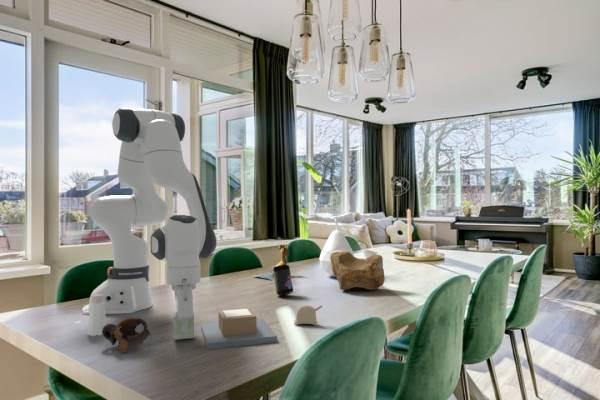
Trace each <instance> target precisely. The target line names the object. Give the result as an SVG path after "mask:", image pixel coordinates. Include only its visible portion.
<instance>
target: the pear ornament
mask: <svg viewBox="0 0 600 400" xmlns="http://www.w3.org/2000/svg"><path fill="white" fill-rule="evenodd" d="M334 223H335V230H333V231H331V233H330V234H329V236H328V238H327V240H326V241H325V244H324V246H323V248H322V250H321V251H320V255H319V258H318V259H319V263H320V266H321V269H322V271H324V272H325V273H326V274H328V275H330V276H331V277H336V276H335V275H334V274H333V270H332V266H331V259H330V257H331V254H332V253H334V252H339V253H340V252H344V251H347V252H350V253H351V254H352V255H353V256H354V257H355V255H354V252H353V251H354V250H353V249H352V247H351V245H350V243H349V242H348V240H347V238H346V236H345V234H344V233H343V232H342V231H341V230H343V231H345V232H347V231H348V228H347V226H343V225H340V224H338V221H337V219H336V218H335V219H334ZM339 229H341V230H339ZM336 278H337V277H336Z"/></svg>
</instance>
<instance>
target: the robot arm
mask: <svg viewBox="0 0 600 400" xmlns="http://www.w3.org/2000/svg"><path fill="white" fill-rule="evenodd" d="M111 128H112V131H113V135H114V137H115V138H116V139H117V140H119V141H121V145H120V149H119V156H118V166H117V177H118V180H119V182H120V183H122V184H123V185H124V186H125V187H128V188H130V189H132V194H130V195H128V194H127V195H126V194H125V195H105V196H101V197H96V198H95V199H94V200H93V202H92V203H91V205H90V209H89V214H90V218H91V220H92V221H93V223H94V224H95V225H96V226H97V227H99V228H100V229H102V231H104V232H105V233H106V234H107V236H108V238H109V240H110V242H111V245H112V253H113V266H109V267H108V268H107V270H106V271H107V279H106V280H105V281H103V282H102V283H101V284H99V285H98V286H97V287H96V288H95V289H93V291H92V292H91V294H90V297H89V302H88V304H86V305H84V306H83V307H82V309H81V313H82V314H83V315H86V316H89V311H90V304H92V297H91V296H92V295H94V294H102V295H103V296H102V303H104V307H105V315H113V314H114V315H115V314H120V315H121V314H133V313H135V312H138V311H142V310H146V309H148V308H149V309H150V308H151V307H152V306H153V305H154V303H153V300H152V295H151V291H150V283H149V282H150V278H151V277H150V273H151V272H150V271H151V270H150V265H149V263H148V261H149V259H148V258H149V256H148V255H149V253H148V251H149V250H148V249H149V247H148V244H147V242H146V241H145V240H144V239H143V238H141V237H138V236H136V235H134V234H133V233H132V229H131V228H132V227H134V228H135V227H150V226H154V225H159V224H162V223H163V222H165V220H166V218H167V216H168V212H169V210H168V209H169V208H168V205H167V202H166V201H165V199H164V198H162V196H160V195H159V193H158V192H157V191H156V189H155V186H154V184H156V185H157V186H159V187H160V188H163V189H168V190H170V191H172V192H175V194H177V195H180V196H181V197H182V198H183V199H184V200H185V202H186V206H187V209H188V212H189V215H185V214H177V215H172V216H170V217H169V218H168V220H167V223H166V224H165V225H164V226H162V227H158V228H157V229H156V230H154V232H153V233H152V234H151V236H150V253H151V254H152V256H153V257H155V258H156V259H157V260H159V261H164V262H165V261H166V265H165V266H166V269H165V272H166V274H165V275H166V280H165V281H166V284H167V285H169V286H171V290H172V291H173V293H174V297H175V304H176V305H175V306H176V312H177V314H178V319H179V320H181V332H187V331H188V323H189V319H192V318H193V313H194V299H193V298H194V293H193V290H195V289H196V288H197V284H200V283H201V280H202V279H201V260H206V259H208V258H209V257H210V256H211V255H212V254H213V253H214V252H215V250H216V248H217V243H218V242H217V237H216V236H217V235H216V233H215V231H214V229H213V226H212V224H211V222H210V218H209V215H208V212H207V208H206V204H205V201H204V197H203V194H202V191H201V188H200V185H199V181H198V180H197V176H196V175H195V174H193V173H192V172H190V170H189V169H188V167H187V166H186V163H185V161H184V158H183V150H182V146H181V145H182V143H181V142H183V140H184V138H185V134H186V123H185V121H184V119H183V117H182V116H181V115H179V114H177V113H174V112H166V111H163V110H159V109H153V108H152V109H149V108H148V109H146V108H131V107H121V108H120V107H119V108H118V109H117V110H116V111H115V113H114V115H113V117H112V121H111Z"/></svg>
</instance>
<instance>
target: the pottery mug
mask: <svg viewBox="0 0 600 400" xmlns="http://www.w3.org/2000/svg"><path fill="white" fill-rule="evenodd" d="M106 324H107V323H106ZM140 325H142V326H143V330H142V331H141V332H138V331H136V329H137V326H140ZM102 333H103V335H102V336H103V337H104V338H105V339H106V340H107V341H109V342H110V344H111V345H112V346H114V345H116V343H117V341H118V345H119V347H118V352H119V353H123V354H125V353H126V352H127V350H130V349H133V348H135V347H137V346H139V345H141V344H143V343H144V341H146V340H147V339H148V337H149V336H151V333H150V330H149V329H148V324H147V322H146V321H145V320H144V319H142V318H140V317H133V316H132V317H127V318H123V319H121V320H120V321H119V322H118V323H116V324H114V323H108V324H107V325H105V326H104V328H103V330H102Z"/></svg>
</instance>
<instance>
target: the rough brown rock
mask: <svg viewBox="0 0 600 400" xmlns="http://www.w3.org/2000/svg"><path fill="white" fill-rule="evenodd" d="M330 259H331V266H332V270H333V274H334V275H335V276H336V280H337V282H338V285H339V289H340V290H341V291H342V290H343V291H344V290H350V289H352V288H364V289H366V290H370V291H372V290H373V291H374V290H376V289H377V290H378V289H379V288H381V287H382V286H384V283H385V269H384V264H383V262H384V261H383V260H384V258H383V256H382V255H381V254H373V255H371V256H369V257H366V259H365V258H358V257H355V255H354V256H353V255H352V254H351V253H350V252H347V251H344V252H340V253H339V252H334V253H332V254H331V257H330Z"/></svg>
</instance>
